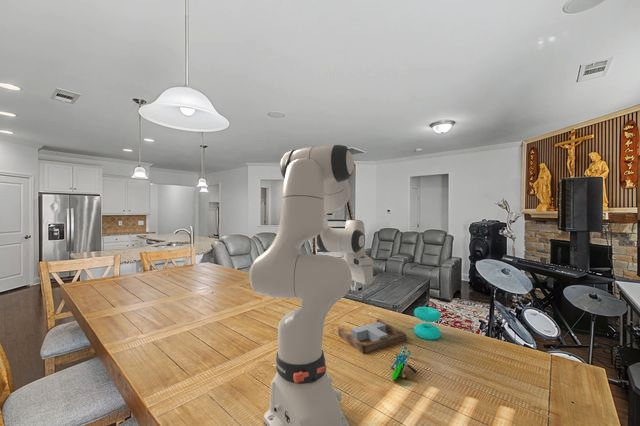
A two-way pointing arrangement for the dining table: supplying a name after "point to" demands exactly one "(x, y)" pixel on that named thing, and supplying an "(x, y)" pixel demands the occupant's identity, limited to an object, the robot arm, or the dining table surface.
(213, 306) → the dining table surface
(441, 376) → the dining table surface
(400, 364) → the stick construction toy
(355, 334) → the T-block
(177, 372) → the dining table surface
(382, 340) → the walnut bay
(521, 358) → the dining table surface
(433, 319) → the donuts
